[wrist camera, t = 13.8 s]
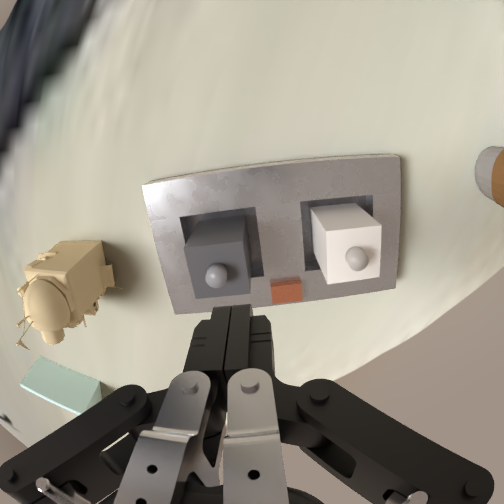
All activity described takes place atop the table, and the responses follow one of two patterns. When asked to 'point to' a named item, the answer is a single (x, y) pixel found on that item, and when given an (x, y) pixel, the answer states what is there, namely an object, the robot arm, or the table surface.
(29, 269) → the robot
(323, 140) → the table surface
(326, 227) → the white plug
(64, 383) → the l-shaped corner panel
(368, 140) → the table surface
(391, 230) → the socket plate
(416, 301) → the table surface
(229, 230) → the grey plug
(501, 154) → the coffee cup
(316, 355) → the table surface
